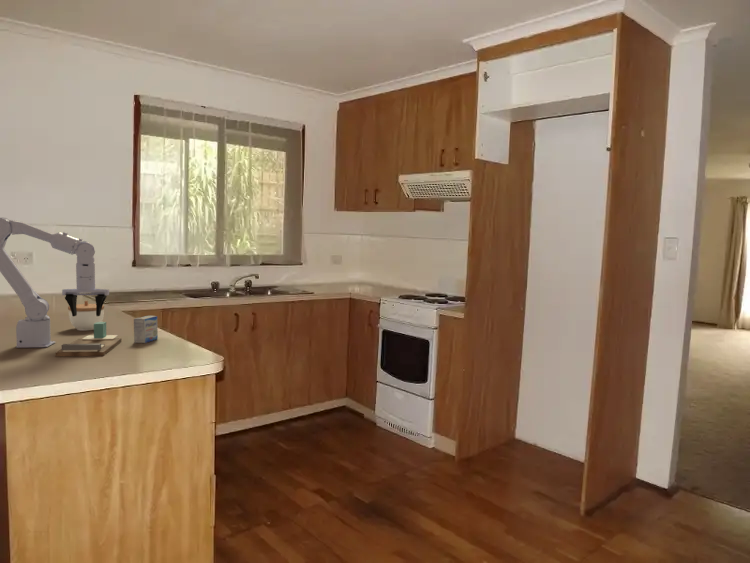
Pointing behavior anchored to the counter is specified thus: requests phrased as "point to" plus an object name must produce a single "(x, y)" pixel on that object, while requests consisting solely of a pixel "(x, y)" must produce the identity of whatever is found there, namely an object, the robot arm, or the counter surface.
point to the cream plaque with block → (100, 333)
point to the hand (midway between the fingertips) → (86, 315)
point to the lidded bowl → (85, 316)
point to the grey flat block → (82, 347)
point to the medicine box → (145, 329)
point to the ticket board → (108, 343)
